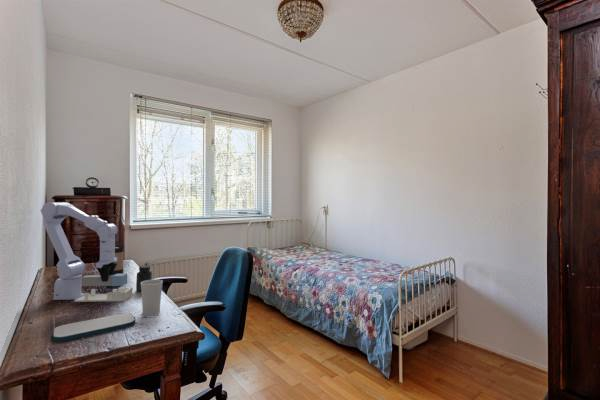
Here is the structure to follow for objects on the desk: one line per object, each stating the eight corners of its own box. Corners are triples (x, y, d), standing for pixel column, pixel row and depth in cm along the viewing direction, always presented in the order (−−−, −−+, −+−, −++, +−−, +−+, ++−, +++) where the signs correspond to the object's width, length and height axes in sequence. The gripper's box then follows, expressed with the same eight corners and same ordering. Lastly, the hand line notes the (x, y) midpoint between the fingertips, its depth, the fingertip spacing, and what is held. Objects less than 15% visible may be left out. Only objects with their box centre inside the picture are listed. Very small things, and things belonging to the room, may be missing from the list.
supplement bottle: (145, 293, 146) (145, 268, 146) (132, 292, 147) (133, 267, 147) (154, 289, 153) (155, 265, 153) (142, 288, 154) (143, 264, 154)
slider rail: (74, 301, 132) (74, 293, 132) (86, 295, 141) (86, 287, 141) (124, 301, 134) (124, 292, 134) (133, 294, 143) (133, 287, 143)
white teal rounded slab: (52, 345, 94) (52, 339, 94) (52, 332, 103) (53, 326, 103) (137, 326, 109) (137, 321, 109) (131, 316, 118) (131, 311, 118)
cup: (140, 316, 117) (140, 285, 117) (140, 309, 124) (140, 280, 124) (162, 313, 121) (163, 283, 121) (161, 307, 128) (162, 278, 128)
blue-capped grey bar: (80, 286, 134) (80, 276, 134) (86, 283, 139) (86, 274, 139) (122, 285, 136) (122, 275, 136) (127, 283, 141) (127, 273, 141)
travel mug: (102, 286, 155) (103, 247, 155) (116, 283, 162) (117, 245, 162) (112, 288, 152) (113, 248, 152) (126, 284, 159) (127, 246, 159)
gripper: (108, 253, 131) (107, 284, 131) (124, 247, 145) (123, 276, 145) (91, 253, 130) (90, 284, 130) (108, 247, 145) (108, 276, 145)
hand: (106, 280), depth 138 cm, fingers closed on blue-capped grey bar, 3 cm apart
